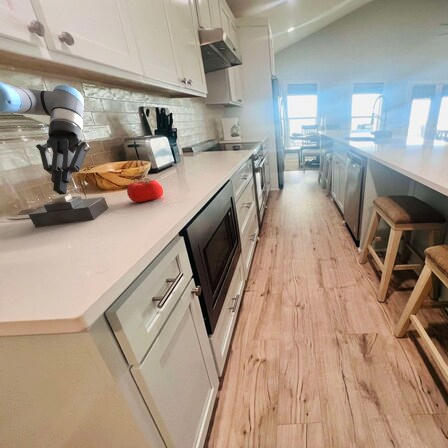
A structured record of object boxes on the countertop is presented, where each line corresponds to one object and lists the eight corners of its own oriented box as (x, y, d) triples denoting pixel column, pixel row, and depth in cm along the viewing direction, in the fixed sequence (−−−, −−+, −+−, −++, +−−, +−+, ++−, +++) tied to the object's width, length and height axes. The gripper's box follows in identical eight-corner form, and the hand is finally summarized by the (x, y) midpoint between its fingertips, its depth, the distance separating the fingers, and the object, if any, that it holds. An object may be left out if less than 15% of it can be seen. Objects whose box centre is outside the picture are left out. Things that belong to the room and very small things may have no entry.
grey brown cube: (55, 207, 68) (51, 198, 67) (61, 204, 71) (57, 195, 70) (68, 205, 69) (64, 197, 68) (74, 202, 72) (70, 194, 71)
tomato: (167, 199, 86) (162, 181, 84) (131, 206, 80) (125, 187, 78) (162, 193, 94) (157, 177, 91) (129, 200, 88) (123, 182, 85)
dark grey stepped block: (35, 227, 67) (24, 207, 65) (58, 214, 77) (49, 196, 74) (94, 219, 71) (85, 200, 68) (108, 208, 80) (101, 190, 78)
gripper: (96, 135, 82) (94, 195, 74) (50, 138, 78) (42, 201, 70) (82, 118, 75) (78, 182, 67) (31, 120, 71) (19, 188, 64)
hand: (59, 192), depth 69 cm, fingers closed
